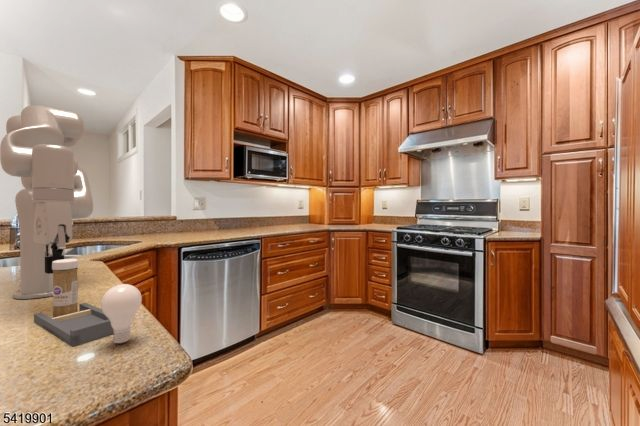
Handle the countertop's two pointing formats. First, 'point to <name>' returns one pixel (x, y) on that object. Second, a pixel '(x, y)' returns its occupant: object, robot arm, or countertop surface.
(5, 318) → the countertop surface
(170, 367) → the countertop surface
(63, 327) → the tray
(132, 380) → the countertop surface
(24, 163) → the robot arm
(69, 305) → the sprinkles bottle
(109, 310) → the lightbulb
